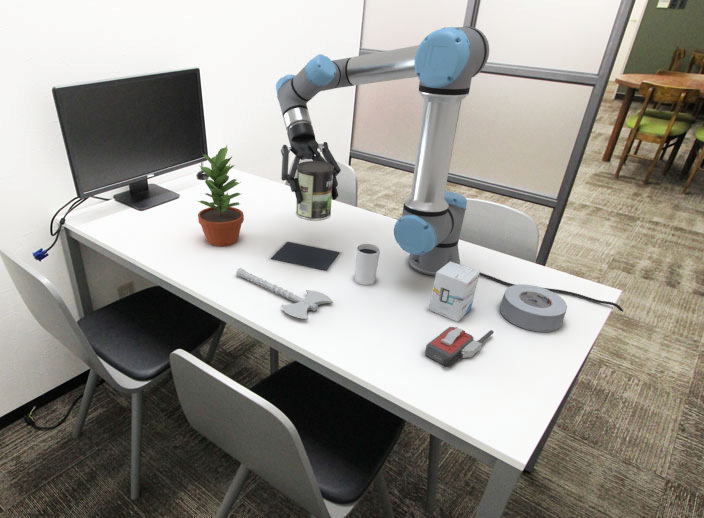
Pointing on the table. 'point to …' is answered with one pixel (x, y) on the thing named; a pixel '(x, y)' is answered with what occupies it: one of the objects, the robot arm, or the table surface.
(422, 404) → the table surface
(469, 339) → the walkie-talkie
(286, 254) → the felt pad
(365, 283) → the white coffee cup
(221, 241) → the potted plant
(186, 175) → the table surface
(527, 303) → the tape roll
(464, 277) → the ink box
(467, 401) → the table surface
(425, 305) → the table surface
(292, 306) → the axe
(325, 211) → the coffee can
